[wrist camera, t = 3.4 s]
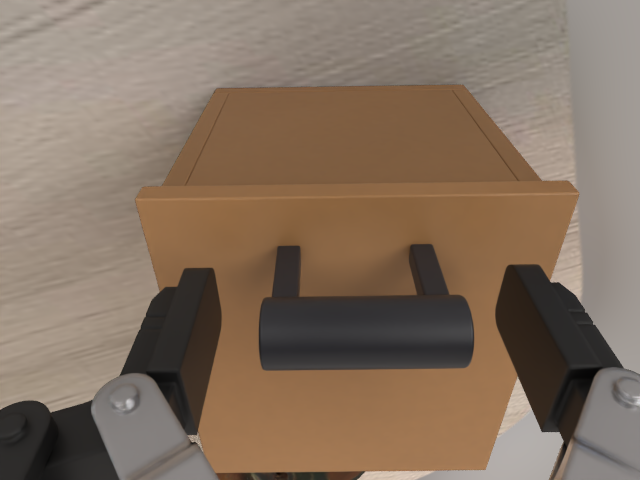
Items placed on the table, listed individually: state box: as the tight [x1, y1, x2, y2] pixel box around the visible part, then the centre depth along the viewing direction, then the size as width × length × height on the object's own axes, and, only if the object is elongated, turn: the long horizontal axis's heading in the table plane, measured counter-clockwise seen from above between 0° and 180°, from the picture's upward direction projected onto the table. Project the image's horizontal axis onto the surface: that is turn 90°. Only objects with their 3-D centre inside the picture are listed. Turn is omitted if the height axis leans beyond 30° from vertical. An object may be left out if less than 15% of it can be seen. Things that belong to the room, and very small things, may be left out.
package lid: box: [135, 181, 579, 473], centre depth 16 cm, size 14×13×5 cm
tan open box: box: [162, 85, 542, 186], centre depth 23 cm, size 14×13×12 cm
